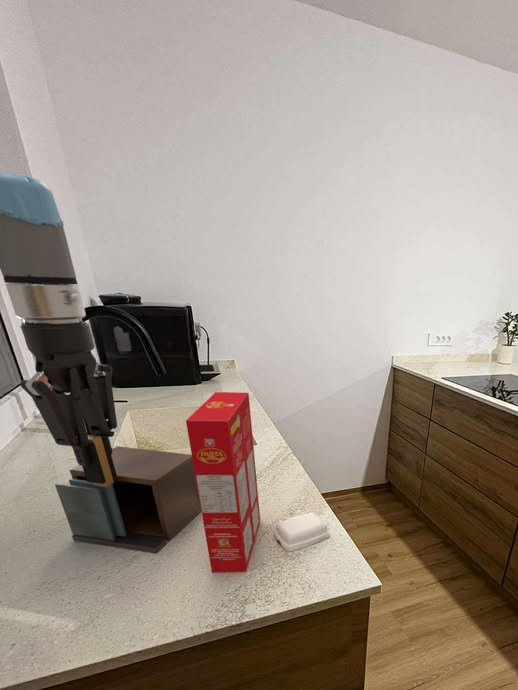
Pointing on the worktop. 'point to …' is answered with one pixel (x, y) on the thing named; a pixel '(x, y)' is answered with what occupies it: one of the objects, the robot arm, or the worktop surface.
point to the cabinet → (135, 500)
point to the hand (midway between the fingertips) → (102, 478)
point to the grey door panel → (105, 487)
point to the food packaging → (226, 478)
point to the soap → (301, 531)
